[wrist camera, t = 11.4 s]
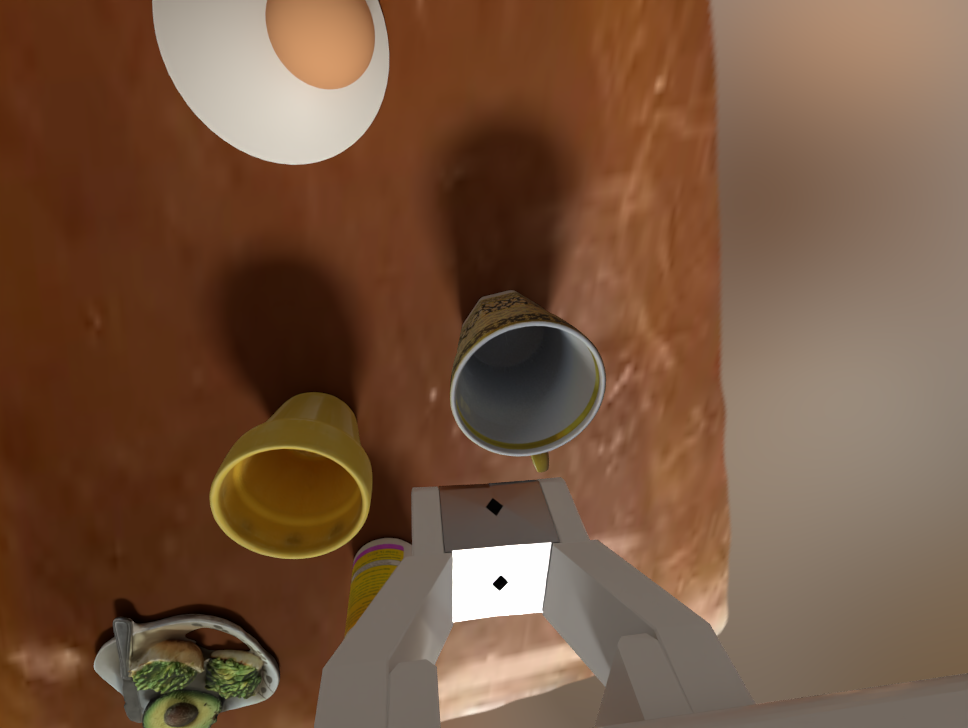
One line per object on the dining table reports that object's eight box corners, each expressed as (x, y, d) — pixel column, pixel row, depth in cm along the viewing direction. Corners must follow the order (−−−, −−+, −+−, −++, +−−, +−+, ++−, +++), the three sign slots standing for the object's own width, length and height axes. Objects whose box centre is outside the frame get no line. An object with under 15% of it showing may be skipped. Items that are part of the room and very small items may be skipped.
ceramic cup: (427, 286, 37) (432, 344, 28) (555, 255, 37) (599, 303, 28) (465, 422, 43) (479, 503, 34) (574, 395, 43) (615, 469, 35)
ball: (306, 84, 24) (390, 104, 28) (311, -58, 22) (402, -13, 26) (244, 71, 27) (329, 91, 31) (242, -57, 24) (335, -16, 29)
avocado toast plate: (48, 622, 49) (15, 669, 45) (221, 577, 49) (203, 620, 45) (154, 717, 58) (135, 763, 54) (298, 679, 58) (290, 722, 54)
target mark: (186, 161, 31) (185, 161, 31) (122, -114, 25) (120, -116, 25) (394, 166, 33) (394, 167, 32) (382, -90, 26) (382, -91, 26)
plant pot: (247, 365, 38) (199, 441, 29) (382, 375, 40) (374, 449, 31) (254, 468, 43) (215, 560, 34) (375, 473, 45) (366, 561, 36)
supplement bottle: (340, 557, 49) (318, 693, 38) (389, 524, 48) (382, 654, 37) (385, 588, 52) (377, 722, 41) (433, 557, 51) (439, 687, 40)
